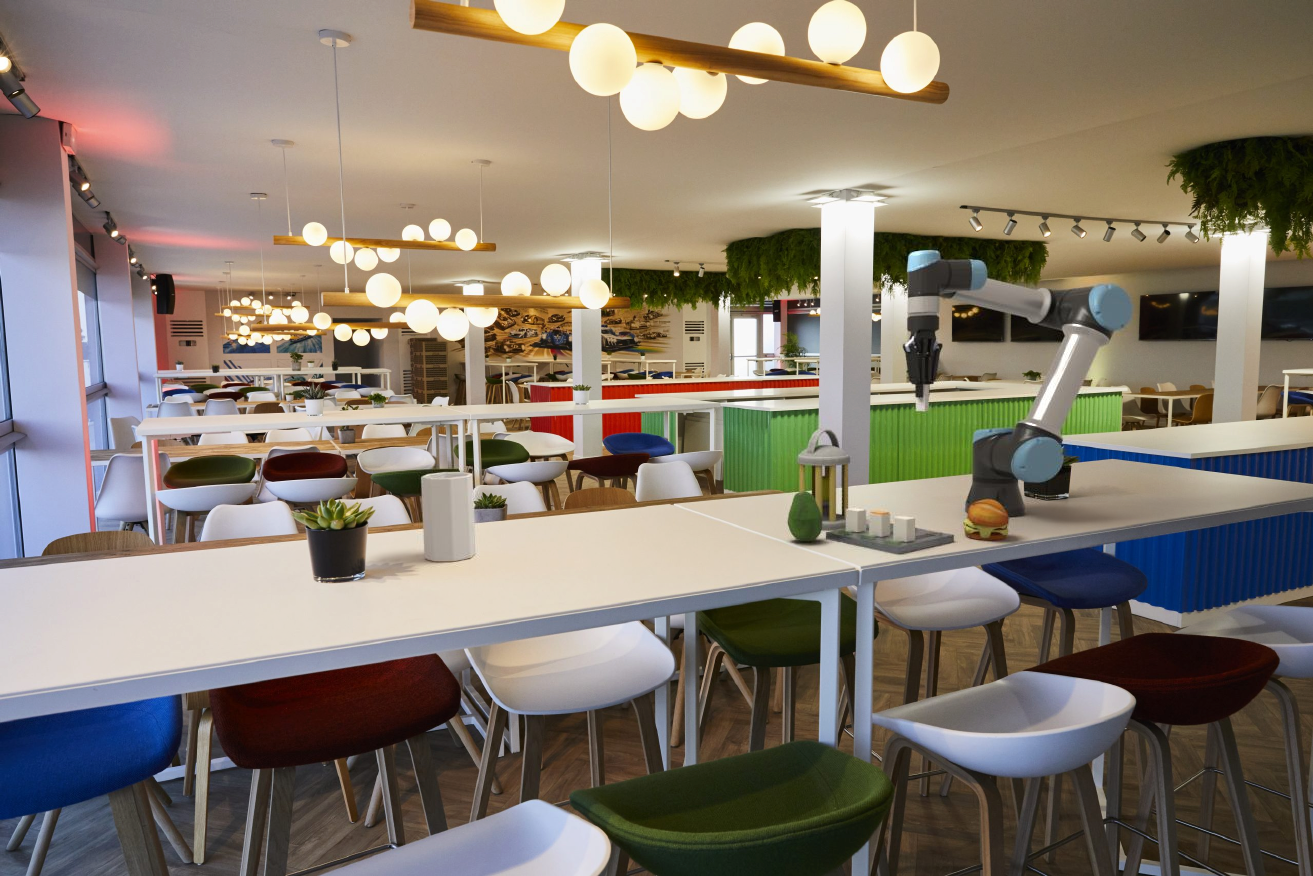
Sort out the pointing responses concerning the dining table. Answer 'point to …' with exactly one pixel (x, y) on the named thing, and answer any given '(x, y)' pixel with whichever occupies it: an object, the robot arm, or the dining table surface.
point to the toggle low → (856, 519)
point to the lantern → (826, 478)
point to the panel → (891, 540)
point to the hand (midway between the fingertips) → (922, 410)
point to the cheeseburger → (986, 521)
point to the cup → (448, 516)
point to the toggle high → (904, 528)
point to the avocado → (805, 517)
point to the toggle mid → (879, 523)
